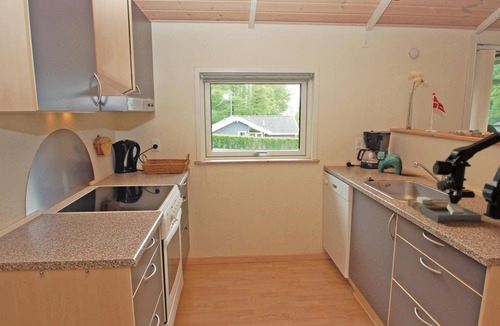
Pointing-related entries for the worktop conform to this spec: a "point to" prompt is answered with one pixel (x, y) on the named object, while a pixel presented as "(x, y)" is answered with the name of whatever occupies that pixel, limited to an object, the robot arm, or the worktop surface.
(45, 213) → the worktop surface
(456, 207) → the white tile
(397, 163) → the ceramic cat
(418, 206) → the walnut plate
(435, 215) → the box
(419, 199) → the sage tile
